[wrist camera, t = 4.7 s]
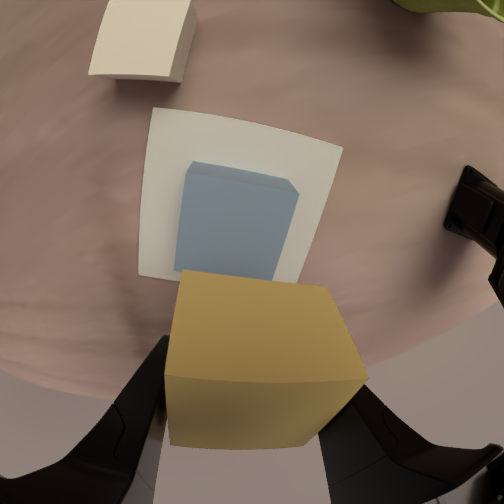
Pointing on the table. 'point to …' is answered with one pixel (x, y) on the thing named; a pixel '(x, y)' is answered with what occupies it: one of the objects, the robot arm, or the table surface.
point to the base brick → (233, 221)
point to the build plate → (235, 156)
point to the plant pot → (456, 6)
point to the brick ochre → (255, 363)
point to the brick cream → (144, 40)
